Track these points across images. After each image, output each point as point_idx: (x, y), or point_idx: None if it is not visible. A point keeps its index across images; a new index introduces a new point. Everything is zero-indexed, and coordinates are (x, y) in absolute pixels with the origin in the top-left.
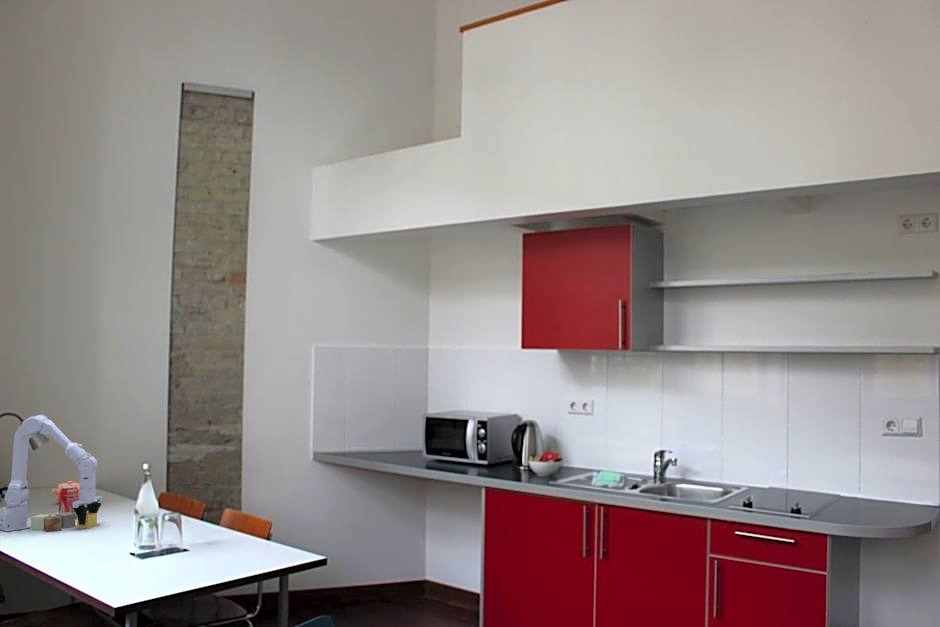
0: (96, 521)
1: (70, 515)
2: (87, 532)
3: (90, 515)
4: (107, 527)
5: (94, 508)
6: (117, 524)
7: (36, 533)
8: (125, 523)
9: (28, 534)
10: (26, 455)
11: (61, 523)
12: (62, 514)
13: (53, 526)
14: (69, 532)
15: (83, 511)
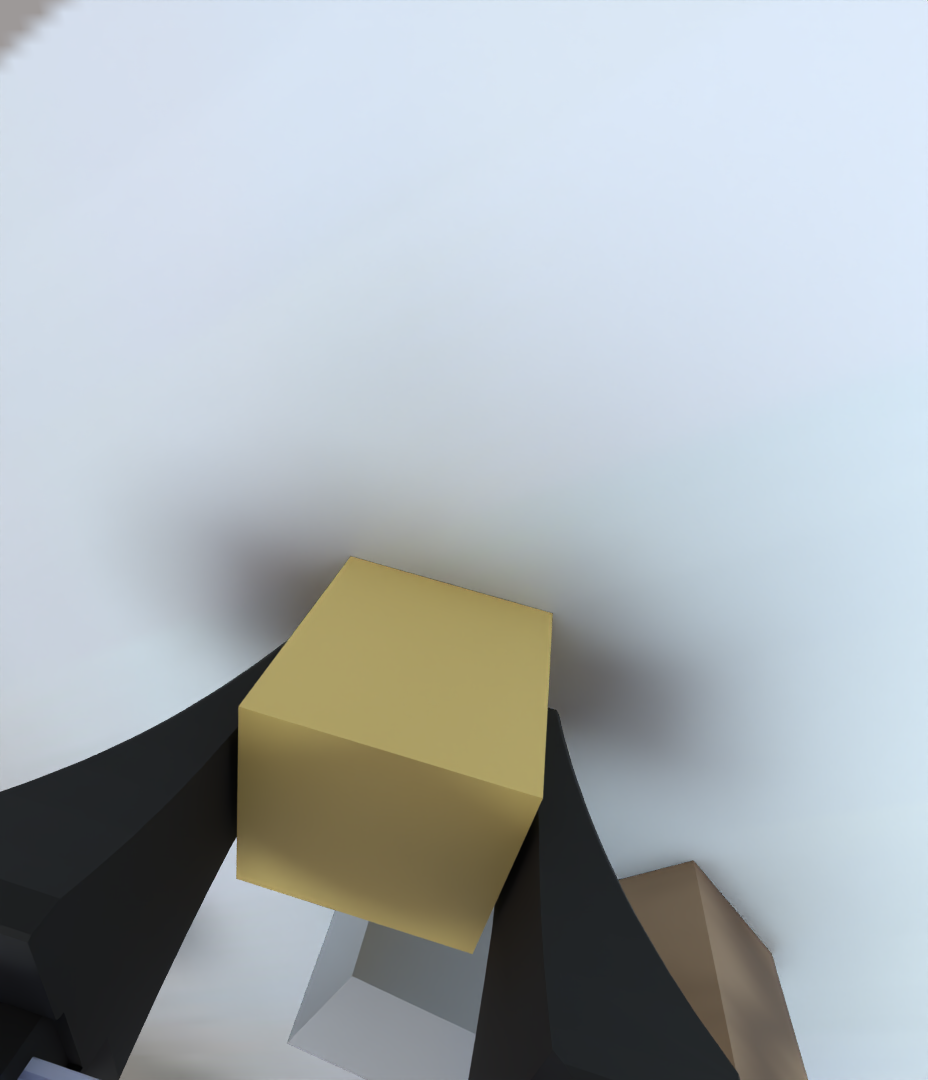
0: (329, 598)
1: (440, 995)
2: (924, 514)
3: (465, 764)
4: (445, 311)
5: (160, 852)
6: (152, 230)
7: (817, 1013)
8: (13, 82)
9: (858, 1053)
10: None
11: (715, 969)
12: (449, 1076)
13: (756, 990)
14: (841, 765)
15: (678, 1006)
